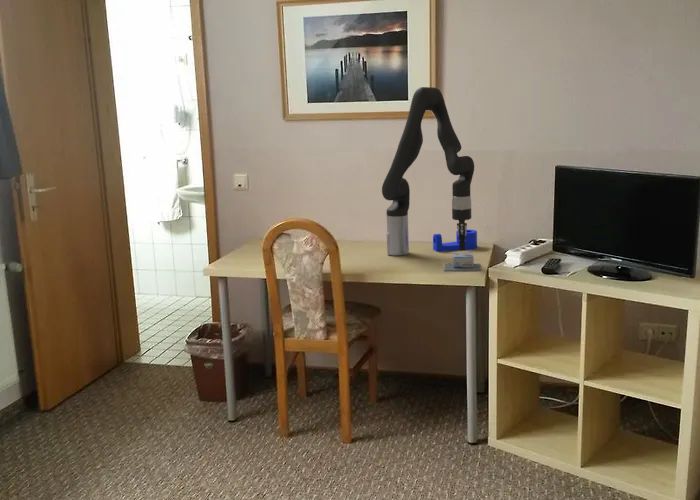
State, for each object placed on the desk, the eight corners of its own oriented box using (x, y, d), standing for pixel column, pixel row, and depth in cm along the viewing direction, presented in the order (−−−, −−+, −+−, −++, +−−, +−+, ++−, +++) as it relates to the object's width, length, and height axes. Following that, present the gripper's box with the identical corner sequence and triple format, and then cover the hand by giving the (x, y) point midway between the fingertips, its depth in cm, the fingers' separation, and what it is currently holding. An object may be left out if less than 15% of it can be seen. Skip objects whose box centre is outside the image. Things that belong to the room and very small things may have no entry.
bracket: (472, 245, 326) (472, 228, 325) (480, 249, 317) (480, 232, 316) (431, 249, 322) (431, 232, 321) (438, 253, 313) (438, 236, 312)
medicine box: (472, 252, 289) (473, 256, 280) (472, 263, 290) (473, 267, 281) (452, 252, 290) (453, 257, 281) (452, 263, 291) (453, 268, 282)
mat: (444, 271, 280) (444, 270, 280) (445, 264, 290) (445, 263, 290) (480, 271, 278) (480, 270, 277) (480, 264, 288) (480, 263, 288)
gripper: (452, 204, 289) (453, 246, 293) (451, 210, 277) (452, 253, 280) (471, 204, 288) (471, 246, 292) (471, 209, 275) (471, 253, 279)
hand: (462, 250), depth 286 cm, fingers closed
